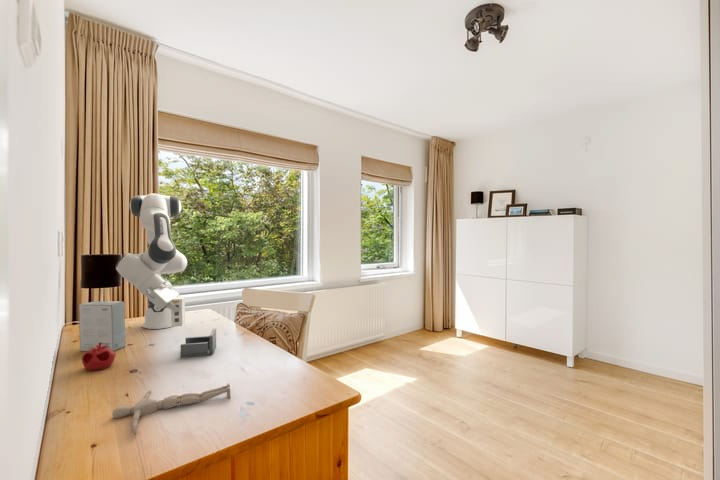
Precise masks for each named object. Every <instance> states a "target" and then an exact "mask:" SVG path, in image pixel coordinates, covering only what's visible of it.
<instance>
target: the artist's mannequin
mask: <svg viewBox="0 0 720 480" xmlns="http://www.w3.org/2000/svg"><path fill="white" fill-rule="evenodd" d="M151 393H152V390H148V391H147V392H146V393H145V395H144V396H143V397H142V399H141V400H140V401H139V402H137V403H134V406H118V407H116V408H115V409H114V410H113V411H112V413H111V415H112V417H113V418H114V419H121V418H124V417H126V416H128V415H131V414H133V415H132V423H131V431H132V433H133V434H134V435H137V434H138V433H137V431H138V430H137V429H138V424H139V419H140V417H142V416H146V414H147V415H149V413H150V414H152V413H154V411H155V412H156V411H159V410H162V409H163V410H169V409H172V408H174V407H177V406H178V405H181V406H185V405H190V404H196V403H199V402H204V401H208V400H211V399H214V398H215V397H217V396H218V397H219V396H220V395H223V394H225V393H226V396H227V398H228V399H229V398H231V387H230V383H227V384H226V385H223V386H221V387H217V388H211V389H209V390H205V391H203V392H201V393H197V392H193V393H192V392H191V393H190V392H189V393H183V394H181V395H176V394H174V395H173V394H172V395H170V396H167V397H164V398H163V399H160V400H157V399H151V398H149V397H150V395H151ZM149 394H150V395H149Z"/></svg>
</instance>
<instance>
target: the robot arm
mask: <svg viewBox="0 0 720 480" xmlns="http://www.w3.org/2000/svg"><path fill="white" fill-rule="evenodd" d="M129 210H130V212H131V214H132V215H133V216H135V217H139V222H140V225H141V227H142V228H143V229H145V231H146V241H147V244H148V247H147V248H146V250H144V252H141V253H130V252H129V253H126V254H124V255H123V256H122V257H121V258H120V259H119V260H118V261H117V263H116V264H115V270H116V271H117V272H118V274H119V275H120V276H121V277H122V278H123V279H125V281H127V282H128V283H129V284H132V285H133V286H134V287H135V288H136V289H137V290H138V291H139V292H140V293H141V294H143V295H144V296H145V297H146V298H147V299H148V300H147V309H146V310H145V311H144V323H143V324H141V328H143V329H144V328H145V329H149V330H161V329H169V328H172V327H171V310H173V311H174V312H177V311H178V310H179V308H178V307H177V306H175V305H174V304H173V303H172V302H171V301H172V299H174V298H175V297H180V293H179V291H178V290H177V289H176V288H175V287H173V284H172V283H171V282H170V281H169V280H167V278H164V277H162V276H160V275H161V274H177V273H181V272H184V271H185V270H186V268H187V266H188V259H187V258H186V256H185V255H184V254H183V253H181V252H180V251H179V250H178V249H177V247H176V244H175V243H174V240H173V238H172V233H171V232H172V231H171V220H170V217H171V219H173V218H174V217H178V215H180V212H181V210H182V204H181V200H180V198H179V197H178V196H174V195H164V194H163V195H162V194H159V193H148V194H147V195H141V194H140V195H135V196H133V197H131V199H130V201H129Z"/></svg>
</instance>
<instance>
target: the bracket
mask: <svg viewBox="0 0 720 480" xmlns="http://www.w3.org/2000/svg"><path fill="white" fill-rule="evenodd" d="M211 330H212V331H211V332H210V334H209V335H203V336H201V335H200V336H191V337H190V336H189V337H185V343H181V344H180V345H179V347H180V358H192V357H193V358H194V357H203V356H205V357H206V356H213V355H214V353H215V351H216V349H217V328H212V329H211Z"/></svg>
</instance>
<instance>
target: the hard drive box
mask: <svg viewBox="0 0 720 480" xmlns="http://www.w3.org/2000/svg"><path fill="white" fill-rule="evenodd" d="M125 310H126V309H125V301H121V300H120V301H119V300H118V301H113V300H112V301H111V300H110V301H108V300H107V301H90V302H85V303H80V304H78V321H79V322H78V327H79V331H78V332H79V351H80V352H87V351H89V350H91V349H92V347H93V348H96V345H98V347H99V343H100V342H102V344H101V347H103V346H104V347H105V345H106V346H110V347H105V348H109V349H111V350H113V351H114V352H116V351H117V350H120V349H122V348H124V347H126V344H127V343H126V342H127V341H126V316H125V315H126V314H125ZM89 348H90V349H89Z"/></svg>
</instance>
